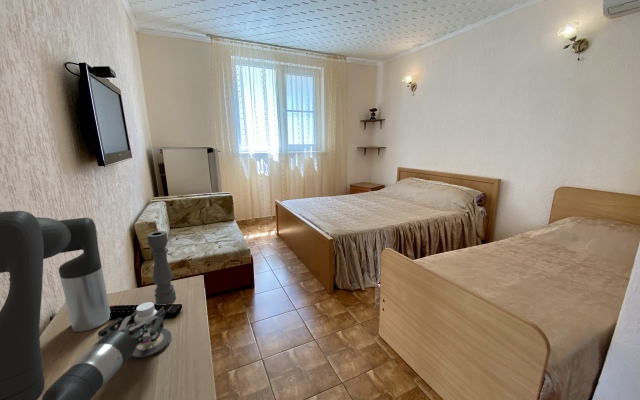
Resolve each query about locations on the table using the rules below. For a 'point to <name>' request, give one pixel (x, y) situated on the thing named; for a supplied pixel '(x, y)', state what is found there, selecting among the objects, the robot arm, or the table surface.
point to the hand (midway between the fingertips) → (152, 311)
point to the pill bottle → (145, 316)
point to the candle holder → (161, 268)
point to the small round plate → (153, 345)
